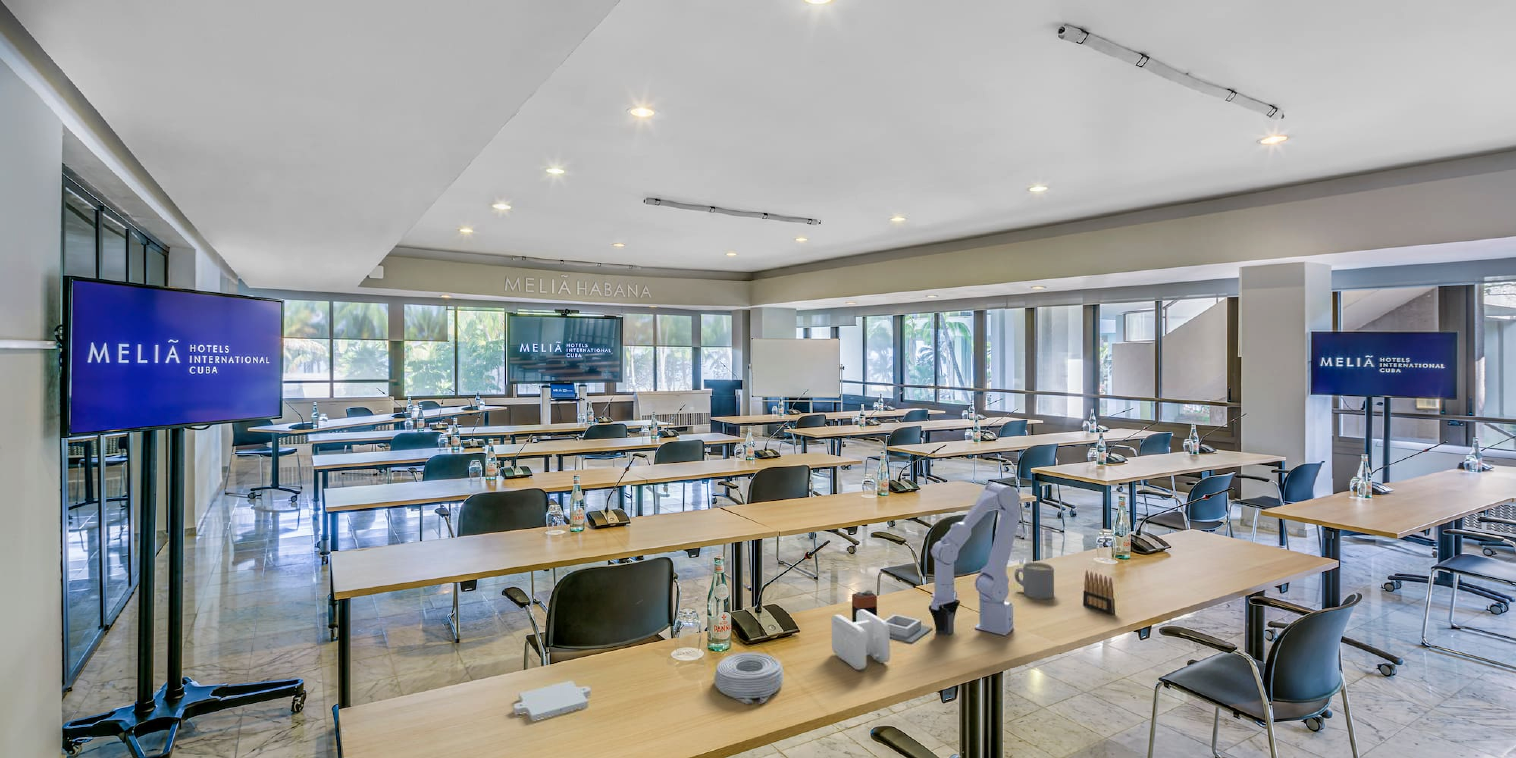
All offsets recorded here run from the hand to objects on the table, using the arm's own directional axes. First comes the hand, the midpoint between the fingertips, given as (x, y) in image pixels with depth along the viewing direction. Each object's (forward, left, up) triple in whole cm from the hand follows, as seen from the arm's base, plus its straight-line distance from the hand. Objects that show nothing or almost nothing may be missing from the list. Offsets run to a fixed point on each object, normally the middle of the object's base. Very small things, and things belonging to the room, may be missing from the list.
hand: (944, 627), depth 206 cm
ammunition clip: (-32, -49, -2) cm, 59 cm away
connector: (0, 0, -2) cm, 2 cm away
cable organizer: (+10, +33, -2) cm, 35 cm away
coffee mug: (-10, -54, -2) cm, 55 cm away
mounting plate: (+56, +99, -2) cm, 114 cm away
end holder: (+11, +7, -2) cm, 13 cm away
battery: (+23, +8, -2) cm, 24 cm away
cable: (+25, +63, -2) cm, 68 cm away
